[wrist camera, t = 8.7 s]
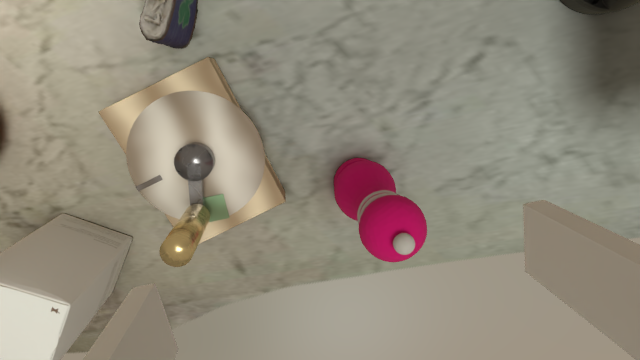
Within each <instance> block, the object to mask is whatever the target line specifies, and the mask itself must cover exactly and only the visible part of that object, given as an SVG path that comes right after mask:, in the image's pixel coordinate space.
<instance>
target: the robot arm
mask: <svg viewBox="0 0 640 360" xmlns="http://www.w3.org/2000/svg"><path fill="white" fill-rule="evenodd" d="M561 1H562V2H563V3H564V4H565V5H566V6H568V7H569V8H571V9H573V10H575V11H577V12H580V13H584V14H603V13H608V12H613V11H618V10H622V9H625V8H627V7H630V6H632V5H634V4H636V3H638V2H640V0H561ZM523 213H524V247H525V272H526V273H528V274H529V275H530V276H531V277H533V278H534V279H535V280H537V281H538V282H539V283H540V284H541V285H543V286H544V287H545V288H547V289H548V290H549V291H550V292H551V293H553V294H554V295H555V296H557V297H558V298H559V299H560V300H562V301H563V302H564V303H565V304H567V305H568V306H569V307H570V308H572V309H573V310H574V311H575V312H577V313H578V314H579V315H580V316H582V317H583V318H584V319H585V320H587V321H588V322H589V323H590V324H592V325H593V326H594V327H596V328H597V329H598V330H599V331H600V332H602V333H603V334H604V335H605V336H607V337H608V338H609V339H611V340H612V341H613V342H614V343H616V344H617V345H618V346H619V347H621V348H622V349H623V350H624V351H626V352H627V353H628V354H629V355H631V356H632V357H633V358H634V359H636V360H640V245H639V244H637V243H635V242H633V241H631V240H629V239H627V238H624V237H622V236H620V235H618V234H616V233H614V232H612V231H609V230H607V229H605V228H603V227H601V226H599V225H597V224H595V223H592V222H590V221H588V220H586V219H584V218H582V217H580V216H577V215H575V214H573V213H571V212H569V211H567V210H565V209H562V208H560V207H558V206H556V205H554V204H552V203H550V202H548V201H545V200H540V201H535V202H530V203H526V204H523ZM177 352H178V347H177V344H176V341H175V339H174V336H173V333H172V330H171V327H170V324H169V321H168V318H167V316H166V313H165V310H164V307H163V304H162V301H161V298H160V295H159V293H158V290H157V287H156V284H155V283H153V284H148V285H144V286H139V287H134V288H132V289H131V291H130V292H129V294H128V295H127V297H126V298H125V299H124V301H123V302H122V304H121V305H120V307H119V308H118V310H117V311H116V312H115V314H114V315H113V317H112V318H111V320H110V321H109V323H108V324H107V325H106V327H105V328H104V330H103V331H102V333H101V334H100V336H99V337H98V338H97V340H96V341H95V343H94V344H93V346H92V347H91V349H90V350H89V351H88V353H87V354H86V356H85V357H84V359H83V360H175V357H176V354H177Z"/></svg>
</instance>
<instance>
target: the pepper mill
mask: <svg viewBox="0 0 640 360" xmlns="http://www.w3.org/2000/svg"><path fill="white" fill-rule="evenodd" d="M334 193H335V199H336V202H337V204H338V206H339V207H340V209H341V210H342V211H343V212H344V213H345V214H346V215H347V216H348V217H350V218H352V219H354V220H357V221H358V223H359V234H360V238H361V241H362V243H363V245H364V246H365V247H366V249H367V250H368V251H369V252H370V253H371V254H372V255H374V256H375V257H377V258H378V259H381V260H383V261H388V262H399V261H403V260H406V259H409V258H410V257H412V256H413V255H414V254H416V253H417V252H418V251H419V249H420V248H421V247H422V245H423V244H424V242H425V239H426V235H427V225H426V220H425V217H424V215H423V213H422V211H421V209H420V208H419V207H418V206H417V205H416V204H415V203H414V202H413V201H411V200H409V199H408V198H406V197H403V196H400V195H398V194H396V188H395V183H394V180H393V178H392V176H391V175H390V173H389V172H388V171H387V169H385V168H384V167H383V166H382V165H380V164H378V163H376V162H372V161H370V160H367V159H364V158H353V159H350V160H348V161H346V162H345V163H343V164H342V165H341V166H340V167H339V168H338V170H337V172H336V174H335V177H334Z"/></svg>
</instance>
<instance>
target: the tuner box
mask: <svg viewBox="0 0 640 360" xmlns="http://www.w3.org/2000/svg"><path fill="white" fill-rule="evenodd" d="M99 114H100V115H101V117H102V118H103V120H104V121H105V123H106V125H107V126H108V128H109V129H110V131H111V132H112V134H113V135H114V137H115V138H116V140H117V141H118V143H119V144H120V146H121V148H122V149H123V151H124V152H125V154H126V157H127V165H128V168H129V172H130V175H131V177H132V180H133V182H134V184H135V185H136V188H137V190H138V191H140V193H141V194H142V195H143V197H144V198H145V199H146V200H147V201H148V202H149V203H151V204H152V205H153V206H154V207H155V208H157V209H158V210H160V211H162V212H163V213H165V215H166V216H167V218H168V220H169V221H170V223H171V224H172V226H173V227H174V226H175V225H176V223H177V222H178V221H179V219H180V218H181V216H182V215H183V213H184V212H185V210H186V209H187V208H188V207H189V206H190V198H189V186H188V180H186V179H184V178H182V177H181V176H180V175H179V174H178V173H177V171H176V169H175V166H174V158H175V155H176V153H177V152H178V150H179V149H181V148H182V147H183V146H185V145H186V144H188V143H192V142H199V143H203V144H205V145H207V146H208V147H209V148H210V149H211V150H212V152H213V154H214V156H215V165H214V168H213V170H212V171H211V172H210V174H209V175H208V176H207V177H206V178H204V179H203V183H204V197H205V207H206V208H207V209H208V210H209V212H210V221H209V223H208V225H207V227H206V229H205V231H204V233H203V235H202V237H201V239H200V241H199V243H198V244H200V243H202V242H204V241H206V240H208V239H210V238H212V237H214V236H216V235H218V234H220V233H222V232H224V231H226V230H228V229H230V228H232V227H235V226H237V225H239V224H241V223H243V222H245V221H247V220H249V219H251V218H253V217H255V216H257V215H259V214H261V213H263V212H265V211H267V210H269V209H271V208H274V207H276V206H278V205H280V204H282V203H284V202H286V200H285V191H284V189H283V187H282V185H281V183H280V181H279V179H278V177H277V176H276V174H275V172H274V170H273V168H272V166H271V164H270V162H269V161H268V159H267V157H266V155H265V153H264V148H263V144H262V140H261V137H260V135H259V133H258V131H257V129H256V127H255V125H254V124H253V122H252V121H251V120H250V118H249V117H248V116H247V115H246V114H245V113H244V112H243V111H242V110H241V108H240V106H239V104H238V102H237V100H236V99H235V97H234V95H233V93H232V91H231V89H230V87H229V85H228V84H227V82H226V80H225V78H224V76H223V74H222V72H221V70H220V69H219V67H218V65H217V63H216V61H215V59H214V58H210V57H207V58H205V59H203V60H201V61H199V62H197V63H195V64H193V65H191V66H189V67H187V68H185V69H183V70H181V71H179V72H177V73H175V74H173V75H171V76H169V77H167V78H165V79H163V80H161V81H159V82H157V83H155V84H153V85H151V86H149V87H147V88H145V89H143V90H141V91H139V92H137V93H135V94H133V95H131V96H129V97H127V98H125V99H123V100H121V101H119V102H117V103H115V104H113V105H111V106H109V107H107V108H105V109H103V110H101V111H99Z"/></svg>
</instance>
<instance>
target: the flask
mask: <svg viewBox="0 0 640 360" xmlns="http://www.w3.org/2000/svg"><path fill="white" fill-rule="evenodd" d="M197 1H198V0H145V6H144V8H143V12H142V14H141V16H140V23H139V25H140V29H141V32H142V34H143V35H144V36H145V38H146V40H149V41H152V42H155V43H158V44H164V45H166V46H170V47H173V48H185V47H186V46H187V45H188V44H189V42H190V40H191V38H192V35H193V31H194V28H195V23H196V19H197V11H198V10H197Z"/></svg>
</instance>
